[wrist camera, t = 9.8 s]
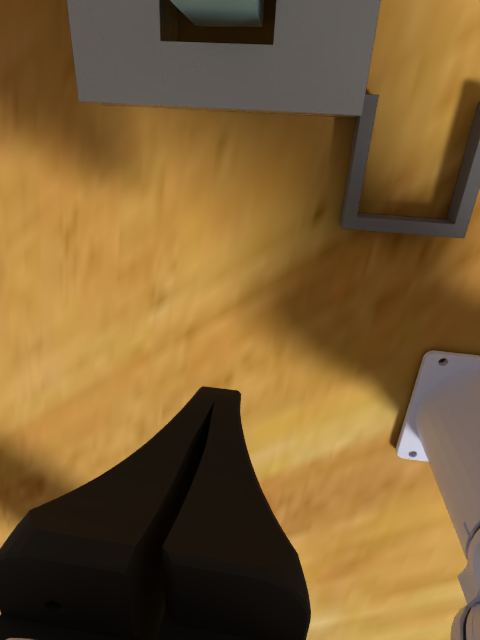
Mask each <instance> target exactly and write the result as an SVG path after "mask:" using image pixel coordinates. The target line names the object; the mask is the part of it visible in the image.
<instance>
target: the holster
mask: <svg viewBox="0 0 480 640" xmlns="http://www.w3.org/2000/svg"><path fill="white" fill-rule="evenodd" d="M378 96H379V95H370V94H365V98H364V104H363V110H362V116H358V117H357V120H356V126H355V133H354V139H353V145H352V151H351V157H350V163H349V170H348V176H347V182H346V188H345V194H344V201H343V207H342V213H341V219H340V225H341V227H342V229H354V230H367V231H379V232H392V233H404V234H417V235H430V236H442V237H455V238H464V237H465V234H466V231H467V228H468V224H469V221H470V218H471V215H472V211H473V208H474V205H475V202H476V198H477V195H478V192H479V189H480V102H479V104H478V108H477V111H476V115H475V118H474V122H473V125H472V129H471V133H470V136H469V140H468V143H467V147H466V150H465V154H464V158H463V161H462V165H461V168H460V172H459V175H458V179H457V182H456V186H455V190H454V193H453V197H452V200H451V204H450V207H449V211H448V215H447V218H446V219H435V218H422V217H408V216H395V215H382V214H368V213H358V208H359V202H360V197H361V191H362V185H363V180H364V174H365V169H366V163H367V158H368V152H369V146H370V141H371V135H372V130H373V124H374V119H375V113H376V107H377V102H378Z"/></svg>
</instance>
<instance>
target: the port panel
mask: <svg viewBox="0 0 480 640" xmlns="http://www.w3.org/2000/svg"><path fill="white" fill-rule="evenodd" d="M380 1H381V0H277V1H276V15H275V29H274V42H273V45H262V44H232V43H201V42H178V8H177V7H176V6H175V5H174V4H173V3H172V2H171V1H170V0H67V6H68V15H69V23H70V32H71V40H72V49H73V57H74V66H75V74H76V83H77V91H78V100H79V101H80V102H88V103H95V104H103V105H119V106H138V107H158V108H178V109H197V110H217V111H237V112H256V113H276V114H296V115H315V116H335V117H358V116H362V110H363V104H364V98H365V92H366V86H367V80H368V74H369V68H370V62H371V56H372V50H373V43H374V37H375V31H376V25H377V19H378V13H379V7H380Z"/></svg>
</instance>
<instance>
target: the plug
mask: <svg viewBox="0 0 480 640" xmlns="http://www.w3.org/2000/svg"><path fill="white" fill-rule="evenodd" d="M170 1H171V2H172V3H173V4H174V5H175V6H176V7H177V8H178V9H179V10H180V11H181V12H182V13H183V14H184V15H185V16H186V17H187V18H188V19H189V20H190V21H191V22H192V23H193V24H194V25H195V26H226V27H263V10H264V0H170Z"/></svg>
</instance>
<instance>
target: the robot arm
mask: <svg viewBox="0 0 480 640" xmlns="http://www.w3.org/2000/svg"><path fill="white" fill-rule="evenodd" d="M442 358H446V360H445V361H444V362H438V361H439V360H440V359H442ZM240 403H241V393H240V392H239V391H236V390H228V389H220V388H212V387H204V386H203V387H201V388H200V389H199V390H198V391H197V392H196V394H195V395H194V396H193V397H192V398H191V400H190V401H189V402H188V403H187V404H186V405H185V406H184V407H183V408H182V410H181V411H180V412H179V413H178V414H177V415H176V416H175V417H174V418H173V419H172V420H171V421H170V422H169V423H168V424H167V425H166V426H165V427H164V428H163V429H161V430H160V431H159V432H158V433H157V434H156V435H155V436H154V437H153V438H152V439H150V440H149V441H148V442H147V443H146V444H144V445H143V446H142V447H141V448H140V449H138V450H137V451H136V452H134V453H133V454H132V455H130V456H129V457H128V458H126V459H125V460H123V461H122V462H120V463H119V464H118V465H116V466H115V467H113V468H112V469H110V470H109V471H107V472H105V473H104V474H102V475H101V476H99V477H97V478H95V479H94V480H92V481H90V482H88V483H87V484H85V485H83V486H81V487H79V488H77V489H75V490H73V491H71V492H69V493H67V494H65V495H63V496H61V497H59V498H57V499H54V500H52V501H50V502H48V503H45V504H43V505H41V506H39V507H36V508H34V509H32V510H30V511H29V512H28V513H27V515H26V516H25V517H24V518H23V519H22V520H21V522H20V523H19V524H18V525H17V526H16V528H15V529H14V530H13V532H12V533H11V534H10V536H9V537H8V539H7V540H6V541H5V543H4V544H3V546H2V547H1V549H0V611H1V615H0V640H306V637H307V633H308V628H309V624H310V618H311V609H310V601H309V595H308V590H307V585H306V581H305V578H304V574H303V570H302V567H301V564H300V560H299V557H298V554H297V552H296V550H295V549H294V547H293V546H292V544H291V543H290V541H289V540H288V538H287V536H286V535H285V533H284V532H283V530H282V528H281V526H280V525H279V523H278V521H277V519H276V518H275V516H274V514H273V512H272V510H271V508H270V506H269V504H268V502H267V500H266V498H265V496H264V494H263V492H262V489H261V487H260V485H259V482H258V480H257V477H256V475H255V472H254V469H253V466H252V463H251V460H250V457H249V454H248V450H247V447H246V443H245V439H244V434H243V429H242V424H241V417H240ZM411 451H415V452H413V453H410V452H411ZM396 453H397V455H398V456H399V457H400V458H405V459H412V460H419V461H427V462H429V464H430V467H431V469H432V472H433V474H434V477H435V479H436V482H437V484H438V487H439V490H440V492H441V495H442V497H443V500H444V502H445V505H446V508H447V510H448V513H449V515H450V518H451V520H452V523H453V526H454V528H455V531H456V533H457V536H458V538H459V541H460V544H461V546H462V549H463V551H464V554H465V556H466V559H467V566H466V568H465V569H464V571H463V572H462V573H460V574H459V575H458V579H459V582H460V585H461V588H462V590H463V593H464V596H465V599H466V602H467V606H465V607H464V608H462V609H460V611H459V612H458V613H457V614H456V616H455V617H454V620H453V623H452V627H451V640H480V355H472V354H462V353H453V352H444V351H429V352H427V353H426V354H425V355H424V356H423V359H422V362H421V366H420V369H419V372H418V376H417V379H416V382H415V386H414V389H413V392H412V396H411V399H410V402H409V406H408V409H407V412H406V416H405V419H404V422H403V426H402V429H401V432H400V436H399V439H398V442H397V446H396Z"/></svg>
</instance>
